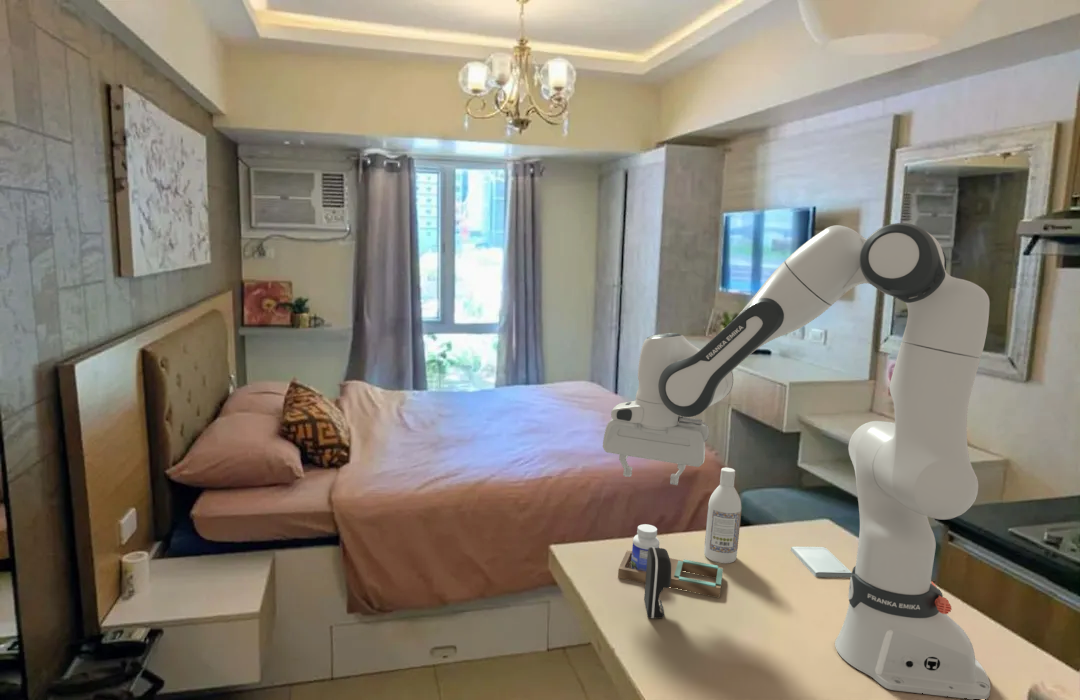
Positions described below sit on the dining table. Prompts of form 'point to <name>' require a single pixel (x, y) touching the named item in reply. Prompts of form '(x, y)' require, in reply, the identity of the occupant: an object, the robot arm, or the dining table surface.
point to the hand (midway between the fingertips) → (650, 479)
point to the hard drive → (821, 562)
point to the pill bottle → (643, 546)
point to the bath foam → (723, 520)
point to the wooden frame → (679, 575)
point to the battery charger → (656, 580)
